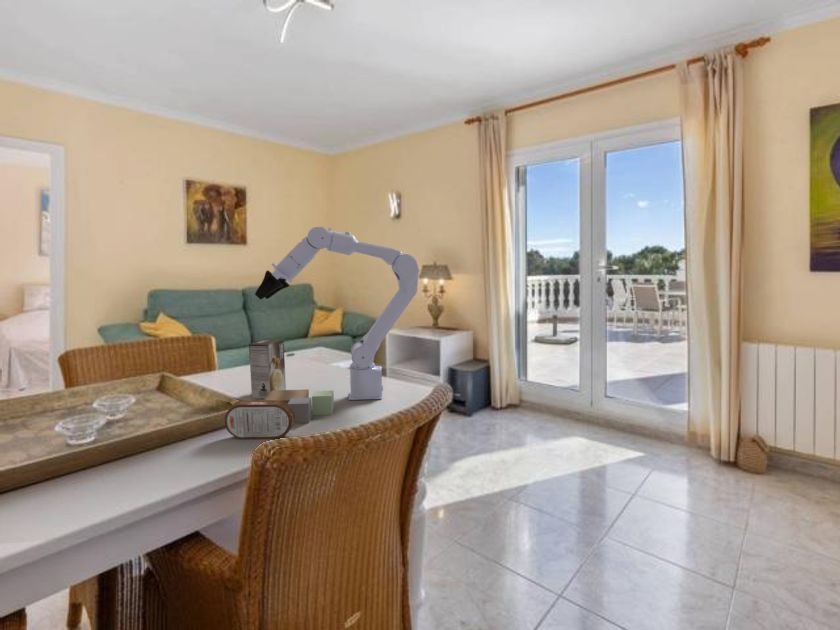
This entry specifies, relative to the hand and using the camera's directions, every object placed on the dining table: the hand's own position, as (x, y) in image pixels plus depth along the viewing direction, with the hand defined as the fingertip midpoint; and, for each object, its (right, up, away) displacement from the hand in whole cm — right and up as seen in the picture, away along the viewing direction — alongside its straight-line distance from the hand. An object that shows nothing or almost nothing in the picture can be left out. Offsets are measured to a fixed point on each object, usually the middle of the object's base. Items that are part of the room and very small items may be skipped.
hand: (261, 296), depth 127 cm
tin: (+8, -33, -24) cm, 41 cm away
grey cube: (+14, -31, -12) cm, 36 cm away
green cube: (+18, -31, -6) cm, 36 cm away
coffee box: (-1, -29, +10) cm, 31 cm away
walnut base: (+8, -31, -3) cm, 32 cm away
